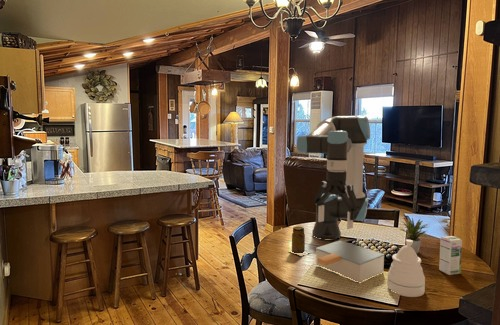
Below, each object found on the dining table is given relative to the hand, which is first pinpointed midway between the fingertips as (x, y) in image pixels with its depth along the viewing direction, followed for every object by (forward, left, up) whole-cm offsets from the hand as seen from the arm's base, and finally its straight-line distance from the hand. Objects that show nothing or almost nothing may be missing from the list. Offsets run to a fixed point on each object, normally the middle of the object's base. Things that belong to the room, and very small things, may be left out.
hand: (334, 224), depth 145 cm
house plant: (+5, +52, -22) cm, 57 cm away
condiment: (-28, +9, -22) cm, 37 cm away
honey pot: (+23, +13, -22) cm, 34 cm away
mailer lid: (-1, +7, -15) cm, 17 cm away
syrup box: (+26, +42, -22) cm, 54 cm away
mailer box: (-1, +11, -22) cm, 25 cm away
